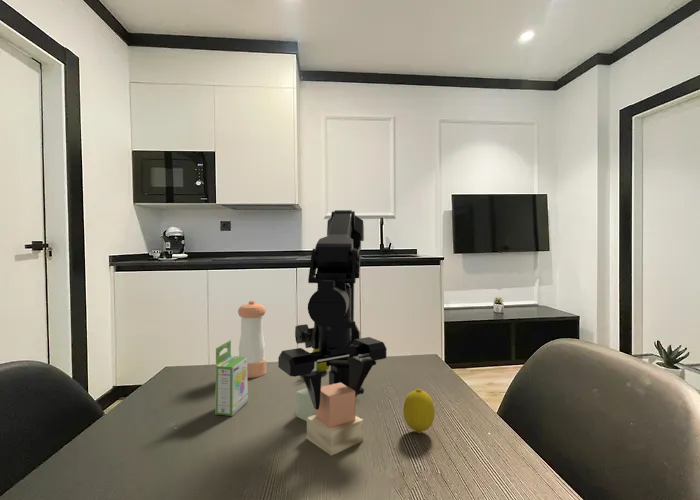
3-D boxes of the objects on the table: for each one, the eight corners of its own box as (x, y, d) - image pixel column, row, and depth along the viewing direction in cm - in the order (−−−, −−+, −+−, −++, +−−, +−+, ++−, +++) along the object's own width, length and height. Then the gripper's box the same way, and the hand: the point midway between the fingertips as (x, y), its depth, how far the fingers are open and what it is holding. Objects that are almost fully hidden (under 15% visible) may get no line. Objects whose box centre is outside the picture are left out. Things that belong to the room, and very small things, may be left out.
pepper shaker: (238, 369, 102) (238, 299, 101) (265, 367, 103) (265, 298, 103) (236, 379, 95) (236, 303, 94) (266, 376, 96) (266, 302, 96)
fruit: (315, 366, 105) (315, 323, 105) (335, 369, 102) (335, 325, 102) (303, 373, 99) (303, 328, 99) (324, 376, 96) (324, 330, 96)
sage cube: (315, 408, 78) (315, 384, 78) (332, 416, 74) (332, 391, 74) (296, 416, 74) (296, 391, 74) (313, 424, 71) (313, 398, 71)
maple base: (338, 427, 70) (338, 406, 70) (363, 442, 65) (363, 419, 65) (306, 440, 66) (306, 417, 66) (331, 457, 60) (331, 432, 60)
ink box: (233, 416, 74) (233, 349, 74) (214, 415, 74) (214, 348, 74) (248, 402, 81) (248, 340, 81) (230, 401, 81) (230, 339, 81)
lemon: (416, 443, 64) (416, 397, 64) (397, 429, 69) (397, 386, 69) (441, 436, 66) (441, 391, 66) (421, 423, 71) (421, 381, 71)
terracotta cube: (340, 409, 69) (340, 382, 69) (355, 420, 64) (355, 391, 64) (316, 416, 66) (316, 387, 66) (329, 427, 62) (329, 397, 62)
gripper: (355, 303, 77) (355, 379, 77) (267, 312, 67) (267, 399, 67) (388, 312, 67) (388, 398, 67) (291, 323, 57) (291, 424, 58)
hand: (334, 403), depth 65 cm, fingers open, 7 cm apart
